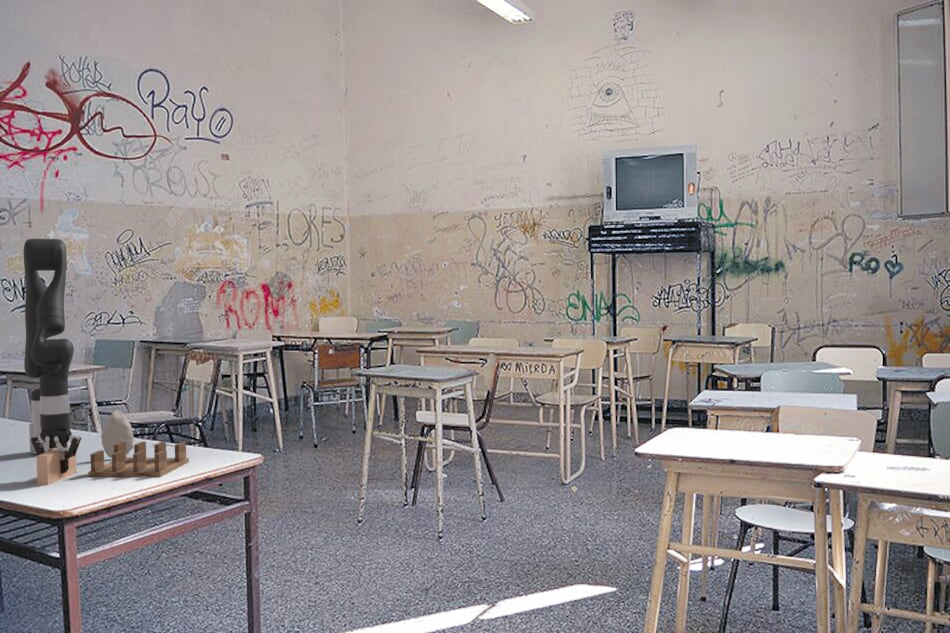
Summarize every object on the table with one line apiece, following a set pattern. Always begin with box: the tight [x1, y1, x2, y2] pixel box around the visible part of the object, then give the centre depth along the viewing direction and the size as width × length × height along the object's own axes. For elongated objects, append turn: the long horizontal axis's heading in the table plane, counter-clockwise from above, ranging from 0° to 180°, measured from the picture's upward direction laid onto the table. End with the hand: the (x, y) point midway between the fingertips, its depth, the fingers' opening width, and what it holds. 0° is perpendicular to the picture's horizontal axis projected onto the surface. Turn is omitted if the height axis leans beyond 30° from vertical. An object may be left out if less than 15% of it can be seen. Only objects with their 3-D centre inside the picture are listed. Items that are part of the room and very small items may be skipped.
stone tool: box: [100, 409, 135, 459], centre depth 265 cm, size 9×3×15 cm, turn 123°
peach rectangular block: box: [35, 444, 78, 486], centre depth 239 cm, size 3×14×8 cm, turn 175°
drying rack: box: [87, 441, 190, 478], centre depth 250 cm, size 21×19×6 cm
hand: (57, 472), depth 240 cm, fingers open, 3 cm apart
